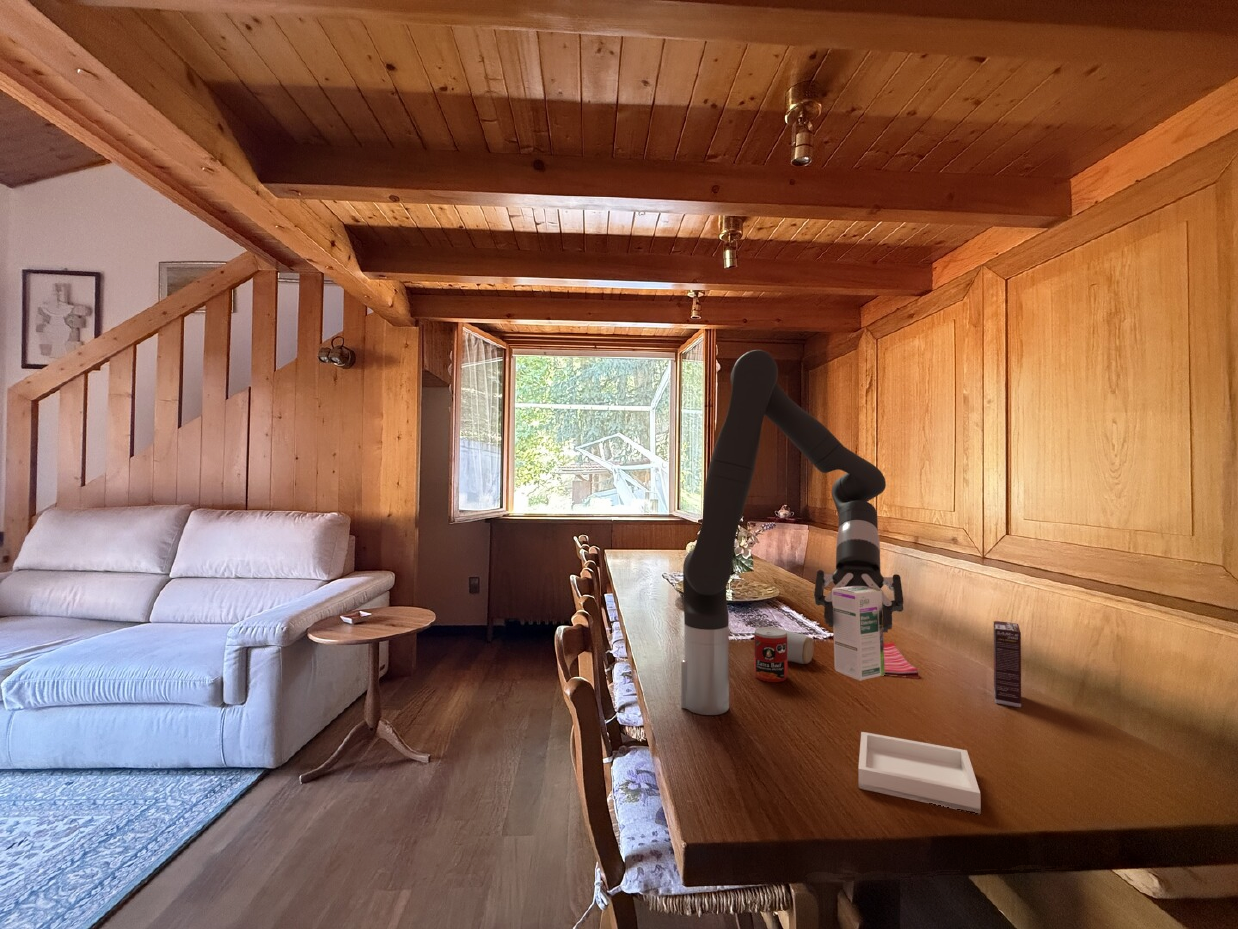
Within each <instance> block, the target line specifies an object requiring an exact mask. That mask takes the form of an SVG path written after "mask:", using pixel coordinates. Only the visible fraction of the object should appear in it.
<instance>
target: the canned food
mask: <svg viewBox="0 0 1238 929" xmlns="http://www.w3.org/2000/svg"><path fill="white" fill-rule="evenodd" d="M783 629H784V628H780V627H771V626H770V627H769V626H762V627H758V628H755V629H754V634H753V639H754V640H753V642H754V644H753V645H754V646H753V648H754V650H753V652H754V656H753V657H754V659H753V660H754V675H755V678H757V679H758V680H759V681H763V682H766V681H767V682H768V683H780V682H781V683H782V682H783V681H786V679H787V677H788V661H787V632H786V631H785V630H786V629H784V630H783ZM767 682H766V683H767Z"/></svg>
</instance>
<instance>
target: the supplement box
mask: <svg viewBox="0 0 1238 929" xmlns="http://www.w3.org/2000/svg"><path fill="white" fill-rule="evenodd" d="M993 693H994V703H995V704H998V705H1004V706H1009V707H1013V708H1019V709H1020V708H1022V632H1021V629H1020V626H1019V624H1018V623H1015V622H1008V621H1007V622H1006V621H998V620H994V621H993Z"/></svg>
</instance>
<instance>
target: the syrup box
mask: <svg viewBox="0 0 1238 929" xmlns="http://www.w3.org/2000/svg"><path fill="white" fill-rule="evenodd" d="M881 590H882V589H881ZM881 590H879V589H875V588H872V587H867V586H849V587H841V588H833V587H832V589H831V591H832V605H833V627H832V628H833V630H832V631H833V654H834V655H833V657H834V658H833V659H834V670H835V671H836V672H838V673H839V674H842V675H844V676H846V677H850V678H851V679H854V680H857V681H859V682H862V681H864V680H868V679H872V678H877V677H883V676H884V675H885V668H884V643H885V642H884V632H883V610H882V591H883V590H882V591H881ZM884 677H885V676H884Z"/></svg>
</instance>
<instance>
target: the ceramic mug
mask: <svg viewBox="0 0 1238 929" xmlns="http://www.w3.org/2000/svg"><path fill="white" fill-rule="evenodd" d="M782 629H783V630H785V631H786V632H787V662H792V663H796V664H801V665H807V664H809V663H810V662H811V661H812V658H813V655H814V649H815V646H814V644H815V643H814V641H813V639H812V638H811V636H808V635H805V634H802V633H797V632H794V631H790V630H787V629H784V628H782Z"/></svg>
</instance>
